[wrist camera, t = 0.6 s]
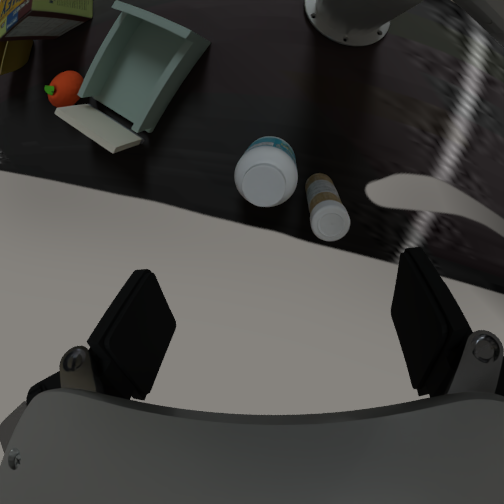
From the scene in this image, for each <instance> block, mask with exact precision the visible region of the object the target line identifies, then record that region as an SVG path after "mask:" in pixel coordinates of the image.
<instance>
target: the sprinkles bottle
mask: <svg viewBox="0 0 504 504" xmlns="http://www.w3.org/2000/svg"><path fill="white" fill-rule="evenodd" d="M305 191H306V193H307V200H308V206H309V212H310V223H311V228H312V231H313V233H314V234H315V235H316V236H317V237H318V238H320V239H321V240H324V241H336V240H338V239H340V238H342V237H343V236H344V235H345V234H346V233H347V232H348V230H349V227H350V218H349V215H348V212H347V210H346V208H345V207H344V206H343V205H342V202H341V200H340V198H339V195H338V193H337V191H336V188H335V187H334V185H333V182H332V180H331V179H330V178H329V177H328V176H327V175H325V174H321V173H317V174H314V175H312V176H310V177H309V178H308V179H307V181H306V185H305Z"/></svg>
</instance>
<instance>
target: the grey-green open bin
mask: <svg viewBox="0 0 504 504" xmlns="http://www.w3.org/2000/svg"><path fill="white" fill-rule="evenodd" d="M112 8H115V9H118V10H121V11H122V12H121V14H120V15H119V17H118V19H117V20H116V22H115V23H114V25H113V26H112V28H111V30H110V31H109V33H108V35H107V36H106V38H105V40H104V42H103V43H102V45H101V47H100V49H99V51H98V52H97V54H96V56H95V58H94V60H93V62H92V64H91V66H90V68H89V70H88V72H87V74H86V76H85V79H84V81H83V83H82V85H81V87H80V90H79V92H78V94H77V95H78V96H80V97H81V98H84V97H90V96H93V98H94V99H96V100H97V101H99V102H101V103H102V104H104V105H106V106H107V107H109V108H110V109H112V110H114V111H115V112H117V113H118V114H120V115H122V116H123V117H125V118H126V119H128V120H130V121H131V122H133V123H134V124H133V126H132V128H131V129H132V130H134V131H135V132H137V133H138V132H141V131H144V130H145V131H147V132H148V133H151V132H153V130H154V128H155V126H156V125H157V123H158V121H159V119H160V118H161V116H162V114H163V113H164V111H165V109H166V108H167V106H168V104H169V103H170V101H171V99H172V98H173V96H174V95H175V93H176V92H177V90H178V89H179V87H180V86H181V84H182V82H183V81H184V80H185V78H186V77H187V75H188V74H189V72H190V71H191V69H192V68H193V67H194V65H195V64H196V62H197V61H198V60H199V58H200V57H201V56H202V54H203V53H204V52H205V50H206V49H207V48H208V46H209V45H210V44H211V42H209V41H208V40H206V39H204V38H203V37H201V36H199V35H198V34H196V33H194V32H193V31H191V30H189V29H187V28H185V27H182V26H180V25H178V24H176V23H174V22H172V21H169V20H167V19H165V18H163V17H160V16H158V15H155V14H153V13H150V12H148V11H145V10H143V9H140V8H137V7H135V6H132V5H129V4H126V3H123V2H120V1H117V0H116V1H115V2H114V4H113V5H112Z"/></svg>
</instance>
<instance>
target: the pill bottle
mask: <svg viewBox="0 0 504 504" xmlns="http://www.w3.org/2000/svg"><path fill="white" fill-rule="evenodd" d="M234 178H235V184H236V187H237V189H238V191H239V192H240V194H241V195H242V196H243V197H244V198H245V199H246V200H247V201H248V202H250V203H252V204H254V205H256V206H260V207H273V206H277V205H279V204H281V203H283V202H285V201H286V200H287V199H289V198H290V196H291V195H292V194H293V192H294V191H295V188H296V186H297V181H298V173H297V166H296V159H295V154H294V152H293V149H292V148H291V146H290V145H289V144H288V143H287V142H285V141H284V140H282V139H280V138H278V137H273V136H267V137H262V138H259V139H257V140H256V141H254V142H253V143H252V144H251V145H250V146H249V148H248V149H247V150H246V152H245V153H244V154H243V156H242V157H241V159H240V160H239V162H238V163H237V166H236V169H235V175H234Z"/></svg>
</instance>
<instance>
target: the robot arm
mask: <svg viewBox="0 0 504 504" xmlns="http://www.w3.org/2000/svg"><path fill="white" fill-rule="evenodd" d="M422 1H423V0H304V8H305V12H306V15H307V18H308V19H309V21H310V23H311V24H312V25H313V26H314V27H315V29H316V30H317V31H319V32H320V33H321V34H322V35H324V36H325V37H327V38H328V39H330V40H332V41H334V42H337V43H339V44H343V45H347V46H354V47H356V46H366V45H370V44H373V43H375V42H377V41H379V40H380V39H381V38H383V37H384V36H385V34H386V33H387V31H388V29H389V26H390V20H392V19H394V18H395V17H397V16H399V15H400V14H402V13H404V12H406V11H407V10H409V9H411V8H413V7H414V6H416V5H418V4H419V3H421V2H422ZM452 1H454V2H455V3H456V4H457V5H459V6H460V7H461V8H462V9H463V10H464V11H466V12H467V13H468V14H469V15H470V16H471V17H472V18H473V19H474V20H475V21H477V22H478V23H479V24H480V25H481V26H482V27H483V28H484V29H485V30H486V31H487V32H488V33H489V34H490V35H491V36H492V37H493V38H494V39H495V40H496V41H497V42H498V43H499V44H500V45H501V46H502V47H504V0H452ZM312 16H314V17H315V18H312ZM377 33H379V35H378V34H377ZM343 39H346V41H344V40H343ZM391 316H392V320H393V322H394V326H395V329H396V331H397V335H398V338H399V341H400V344H401V347H402V351H403V354H404V358H405V361H406V364H407V368H408V372H409V376H410V379H411V384H412V387H413V388H414V389H417V391H418V395H419V396H422V395H426V394H429V395H430V398H426V399H421V400H416V401H411V402H406V403H401V404H395V405H389V406H383V407H376V408H370V409H362V410H355V411H346V412H335V413H323V414H305V415H244V414H226V413H213V412H203V411H194V410H186V409H178V408H172V407H165V406H159V405H153V404H148V403H142V402H137V401H133V400H130V398H131V396H132V397H133V398H135V399H139V400H145V397H146V395H147V394H148V393H150V391H151V389H152V386H153V384H154V381H155V378H156V376H157V373H158V371H159V368H160V366H161V363H162V360H163V358H164V356H165V353H166V351H167V348H168V346H169V343H170V341H171V338H172V336H173V334H174V331H175V328H176V321H175V319H174V317H173V314H172V312H171V310H170V309H169V306H168V304H167V302H166V299H165V297H164V295H163V292H162V290H161V288H160V286H159V283H158V281H157V279H156V276H155V274H154V273H151V271H150V270H148V269H143V270H135V271H134V272H133V274H132V275H131V276H130V278H129V279H128V280H127V282H126V283H125V285H124V286H123V287H122V289H121V291H120V292H119V293H118V295H117V296H116V298H115V299H114V300H113V302H112V304H111V305H110V307H109V308H108V309H107V311H106V312H105V314H104V316H103V317H102V318H101V320H100V321H99V323H98V325H97V326H96V328H95V329H94V331H93V333H92V334H91V336H90V337H89V339H88V340H87V343H88V344H89V346H90V349H89V350H88V349H87V348H86V347H84V346H77V347H73V348H71V349H70V350H68V351H67V352H66V353H65V354H64V356H63V357H62V359H61V361H60V371H59V372H57V373H55V374H53V375H51V376H49V377H48V378H46V379H44V380H42V381H40V382H39V383H37V384H35V385H34V386H32V387H31V388H30V390H29V392H28V395H27V400H26V402H27V403H26V402H25V401H24V402H23V403H22V404H21V405H20V406H19V407H17V409H15V410H14V411H13V412H12V413H11V414H10V415H9V416H8V417H7V418H6V419H5V420H4V421H3V422H2V423H1V425H0V442H1V445H2V448H3V451H4V453H5V454H4V457H3V460H2V462H1V466H0V504H504V356H503V352H504V351H503V346H502V343H501V342H500V340H499V339H498V338H497V337H496V336H495V335H494V334H492V333H491V332H489V331H485V330H478V331H476V332H472V330H471V328H470V326H469V324H468V322H467V320H466V318H465V317H464V315H463V313H462V311H461V309H460V307H459V306H458V304H457V302H456V300H455V299H454V297H453V295H452V294H451V292H450V290H449V289H448V287H447V285H446V284H445V282H444V281H443V280H442V278H441V277H440V275H439V274H438V272H437V271H436V269H435V267H434V266H433V264H432V263H431V261H430V260H429V258H428V257H427V255H426V254H425V253H424V251H423V250H422V248H421V247H415V248H406V249H405V251H404V253H401V254H400V260H399V267H398V273H397V279H396V285H395V291H394V296H393V301H392V306H391Z"/></svg>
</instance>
